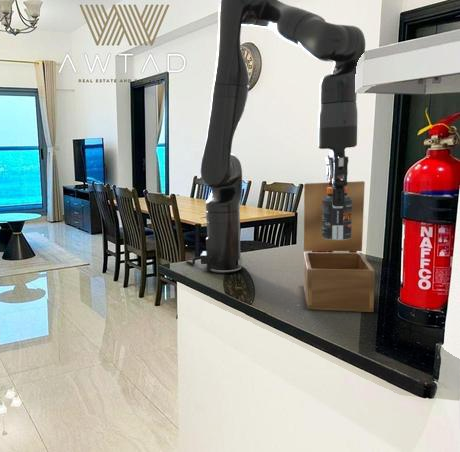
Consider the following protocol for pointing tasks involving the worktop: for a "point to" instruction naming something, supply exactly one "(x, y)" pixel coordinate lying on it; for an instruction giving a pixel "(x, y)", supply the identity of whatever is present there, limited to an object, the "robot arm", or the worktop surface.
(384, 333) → the worktop surface
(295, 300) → the worktop surface
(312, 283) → the chest
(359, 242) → the lid
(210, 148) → the robot arm
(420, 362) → the worktop surface
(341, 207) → the pill bottle
